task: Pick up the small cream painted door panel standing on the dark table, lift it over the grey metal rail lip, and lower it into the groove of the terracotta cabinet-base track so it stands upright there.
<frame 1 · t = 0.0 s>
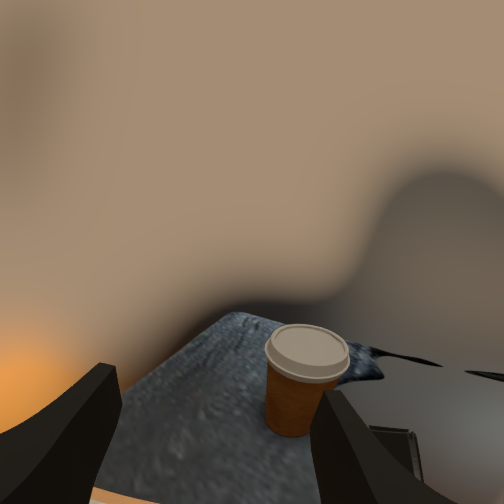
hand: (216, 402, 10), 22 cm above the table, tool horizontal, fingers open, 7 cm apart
disposable coffee cup: (289, 420, 37), on the table
phone: (388, 475, 28), on the table
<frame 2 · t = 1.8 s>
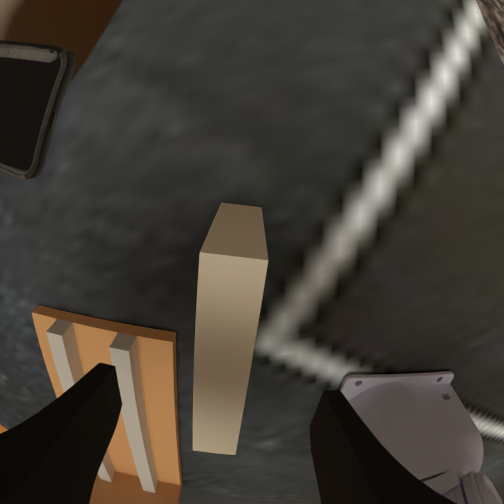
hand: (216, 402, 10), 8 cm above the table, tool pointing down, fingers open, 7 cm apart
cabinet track: (119, 418, 22), on the table
door panel: (231, 294, 18), on the table
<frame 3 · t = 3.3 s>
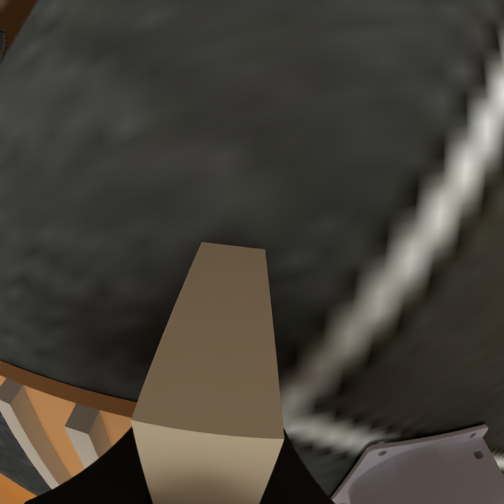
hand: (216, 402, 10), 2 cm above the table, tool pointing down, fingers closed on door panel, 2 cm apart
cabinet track: (96, 476, 16), on the table
door panel: (220, 367, 12), on the table, touching gripper
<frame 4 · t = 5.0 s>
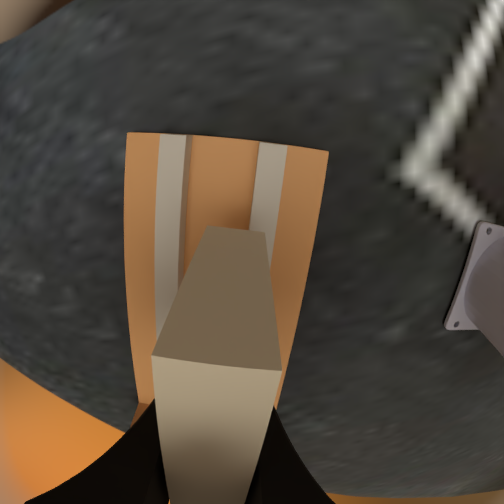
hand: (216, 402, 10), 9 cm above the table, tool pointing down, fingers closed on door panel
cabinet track: (211, 310, 19), on the table
door panel: (223, 345, 13), point 6 cm above the table, touching gripper
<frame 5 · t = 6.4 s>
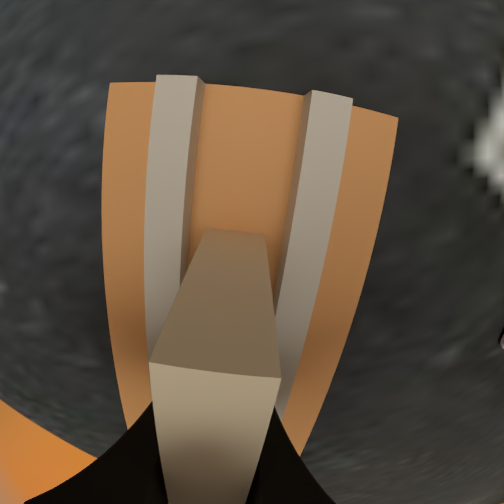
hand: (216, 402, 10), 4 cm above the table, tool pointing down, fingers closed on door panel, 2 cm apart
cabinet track: (225, 336, 14), on the table
door panel: (223, 347, 13), point 1 cm above the table, touching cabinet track, gripper
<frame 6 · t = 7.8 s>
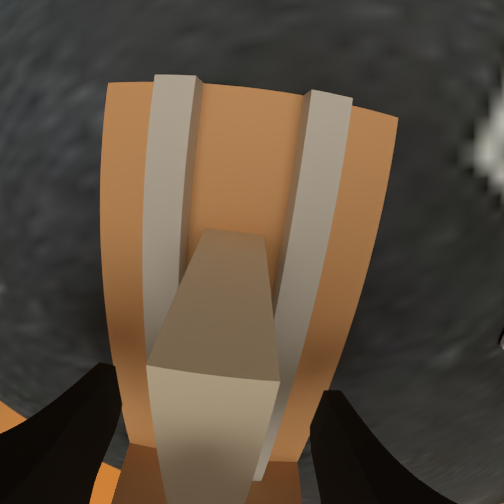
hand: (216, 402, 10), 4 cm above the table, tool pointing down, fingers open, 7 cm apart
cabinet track: (224, 337, 14), on the table
door panel: (222, 348, 13), point 1 cm above the table, touching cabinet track
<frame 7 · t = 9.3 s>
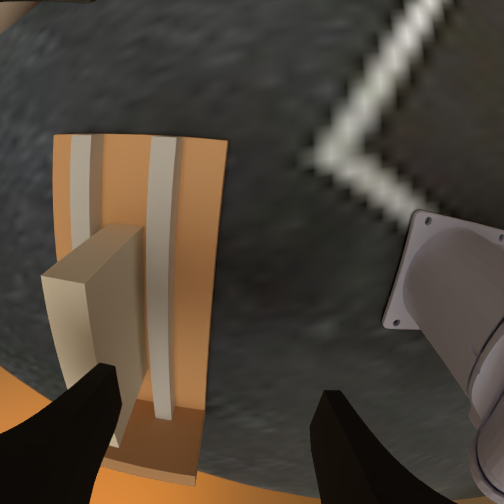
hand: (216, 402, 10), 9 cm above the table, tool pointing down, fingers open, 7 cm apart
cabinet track: (134, 298, 19), on the table
door panel: (128, 304, 18), point 1 cm above the table, touching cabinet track
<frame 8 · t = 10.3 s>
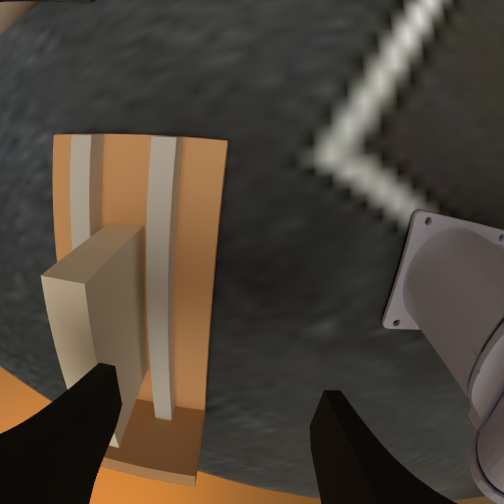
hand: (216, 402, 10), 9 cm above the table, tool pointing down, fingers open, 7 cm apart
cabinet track: (134, 298, 19), on the table
door panel: (128, 304, 18), point 1 cm above the table, touching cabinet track
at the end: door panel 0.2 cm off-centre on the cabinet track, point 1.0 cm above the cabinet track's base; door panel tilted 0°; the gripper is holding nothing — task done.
